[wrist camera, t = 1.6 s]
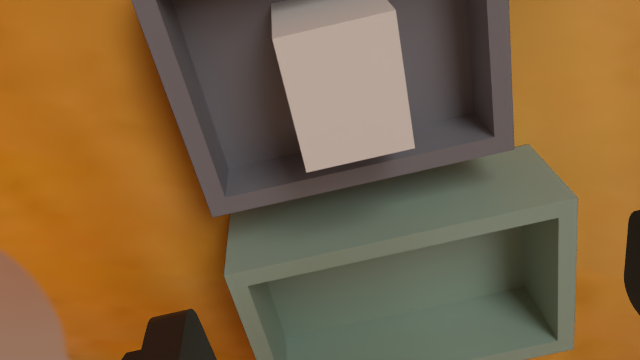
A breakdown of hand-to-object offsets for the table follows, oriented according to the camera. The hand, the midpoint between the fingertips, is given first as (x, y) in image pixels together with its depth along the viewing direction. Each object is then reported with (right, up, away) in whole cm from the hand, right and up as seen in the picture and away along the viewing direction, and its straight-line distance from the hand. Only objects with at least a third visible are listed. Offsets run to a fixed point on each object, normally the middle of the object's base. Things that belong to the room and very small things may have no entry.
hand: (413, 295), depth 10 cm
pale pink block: (-1, +7, +13) cm, 15 cm away
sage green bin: (+2, -2, +20) cm, 20 cm away
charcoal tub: (-1, +8, +14) cm, 16 cm away
